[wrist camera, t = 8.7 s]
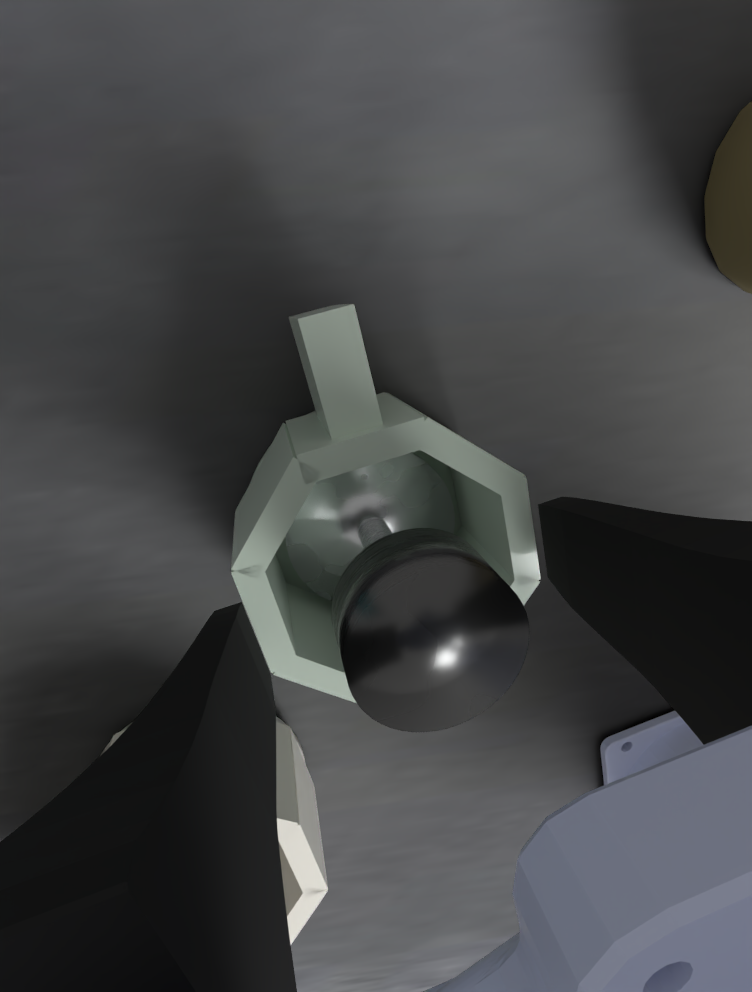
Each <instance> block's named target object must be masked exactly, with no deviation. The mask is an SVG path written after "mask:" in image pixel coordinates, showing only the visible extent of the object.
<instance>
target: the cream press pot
mask: <svg viewBox="0 0 752 992" xmlns="http://www.w3.org/2000/svg"><path fill="white" fill-rule="evenodd" d="M131 724H132V723H130V724H129V725H128V726H126V727H125V728H124V729H122V730H121V731H120V732H118V733H116V734H115V735H113V737H112V739H111V741H110V742H109V744H108V745H107V746H106V747H105V749H104V750H103V752H102V753H101V755H102V754H103V753H104V752H105V751H106V750H107V749H108V748H109V747H110V746H111V745H112V744H113V743H114V742H115V741H116V740H117V739H118V738H119V737H120V736H121V734H122V733H123V732H124V731H125V730H126V729H127V728H128V727H129V726H130V725H131ZM101 755H100V756H101ZM276 810H277V831H278V841H279V851H280V860H281V869H282V879H283V888H284V896H285V904H286V913H287V921H288V929H289V937H290V945H291V944H292V942H293V941H294V939H295V938H296V936H297V935H298V934H299V932H300V931H301V929H302V928H303V926H304V925H305V923H306V922H307V920H308V919H309V918H310V916H311V915H312V913H313V912H314V910H315V909H316V907H317V906H318V904H319V903H320V902H321V900H322V899H323V897H324V896H325V894H326V893H327V891H328V885H327V877H326V870H325V863H324V855H323V848H322V840H321V833H320V825H319V818H318V810H317V803H316V795H315V788H314V784H313V781H312V779H311V776H310V774H309V772H308V769H307V767H306V764H305V757H304V753H303V750H302V746H301V744H300V742H299V740H298V739H297V737H296V735H295V734H294V733H293V731H292V729H291V727H290V728H289V726H288V725H286V724H285V723H284V722H283V721H282V720H281V719H279V718H278V717H276Z"/></svg>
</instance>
